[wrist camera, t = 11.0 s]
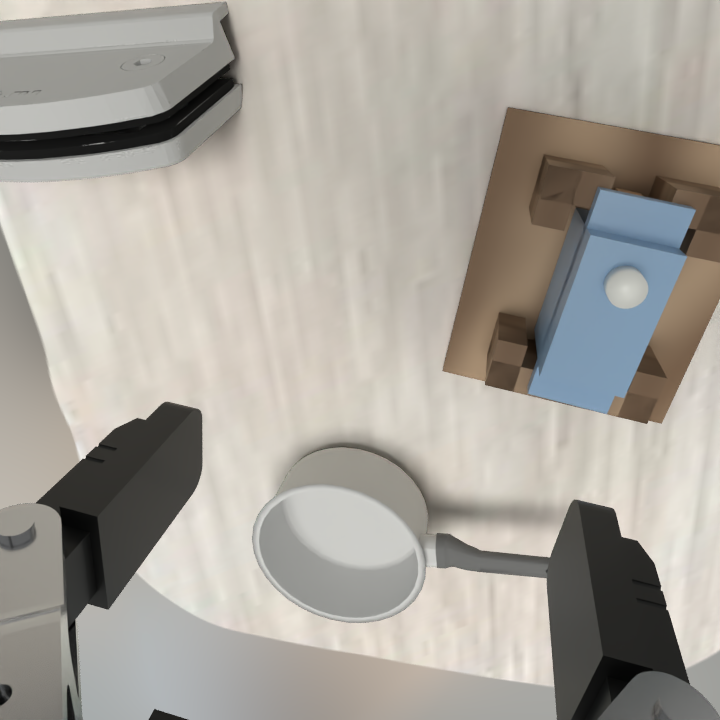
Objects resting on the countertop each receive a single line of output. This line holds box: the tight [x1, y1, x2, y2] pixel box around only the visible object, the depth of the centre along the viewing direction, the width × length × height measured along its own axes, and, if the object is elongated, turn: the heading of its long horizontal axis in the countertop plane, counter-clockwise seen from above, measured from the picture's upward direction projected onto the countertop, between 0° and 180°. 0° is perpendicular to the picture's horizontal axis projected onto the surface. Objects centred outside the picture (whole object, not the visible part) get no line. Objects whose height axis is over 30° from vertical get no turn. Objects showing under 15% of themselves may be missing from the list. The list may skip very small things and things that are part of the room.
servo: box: [527, 187, 696, 414], centre depth 29 cm, size 4×10×7 cm, turn 170°
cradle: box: [443, 107, 720, 424], centre depth 30 cm, size 13×15×4 cm
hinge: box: [0, 2, 242, 182], centre depth 30 cm, size 17×5×10 cm, turn 93°
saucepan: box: [252, 447, 550, 623], centre depth 39 cm, size 12×20×6 cm, turn 97°
